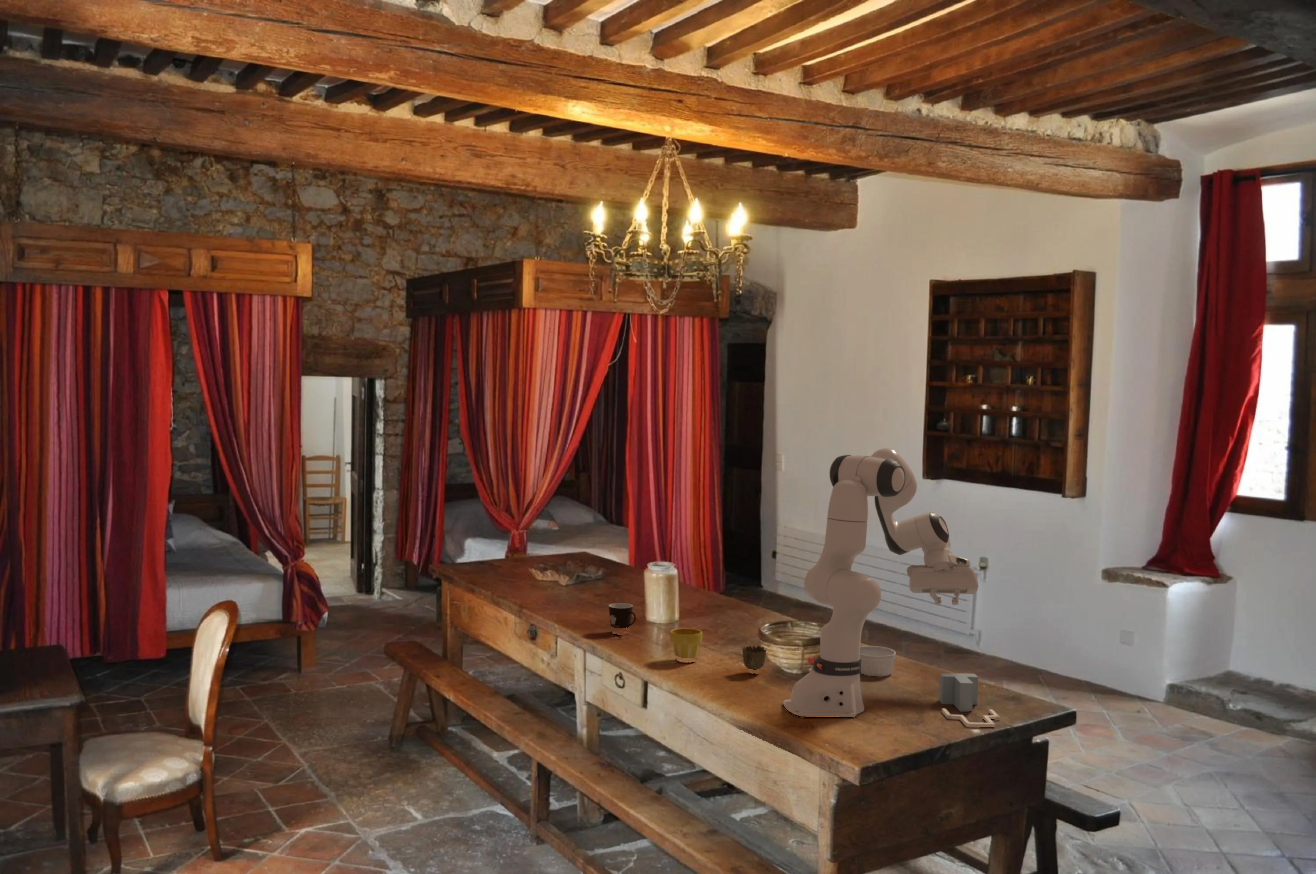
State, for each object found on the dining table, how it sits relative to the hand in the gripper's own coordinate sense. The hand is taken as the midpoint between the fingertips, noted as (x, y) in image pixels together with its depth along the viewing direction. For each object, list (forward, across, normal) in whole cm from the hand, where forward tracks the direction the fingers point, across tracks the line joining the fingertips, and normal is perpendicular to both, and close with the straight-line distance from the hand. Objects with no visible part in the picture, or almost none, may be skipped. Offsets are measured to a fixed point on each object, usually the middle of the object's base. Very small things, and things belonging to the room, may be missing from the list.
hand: (947, 603), depth 321 cm
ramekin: (+7, -18, +29) cm, 35 cm away
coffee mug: (-24, -100, +60) cm, 119 cm away
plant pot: (+1, -77, +36) cm, 85 cm away
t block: (+31, 0, +5) cm, 31 cm away
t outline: (+39, 0, -3) cm, 39 cm away
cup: (+10, -56, +26) cm, 63 cm away
